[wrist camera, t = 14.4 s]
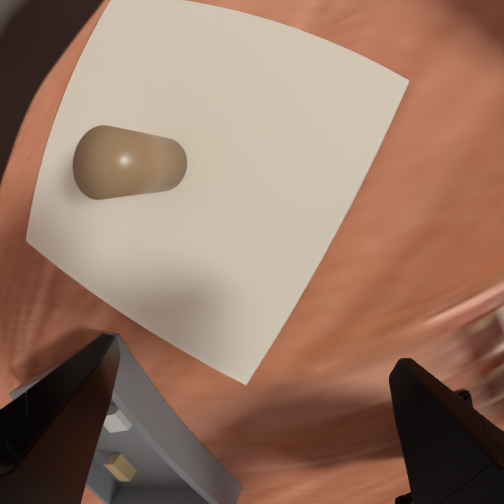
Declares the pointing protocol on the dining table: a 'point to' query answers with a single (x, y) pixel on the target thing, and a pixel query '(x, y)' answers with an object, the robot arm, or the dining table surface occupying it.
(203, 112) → the tub lid
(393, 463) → the dining table surface
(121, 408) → the tray
